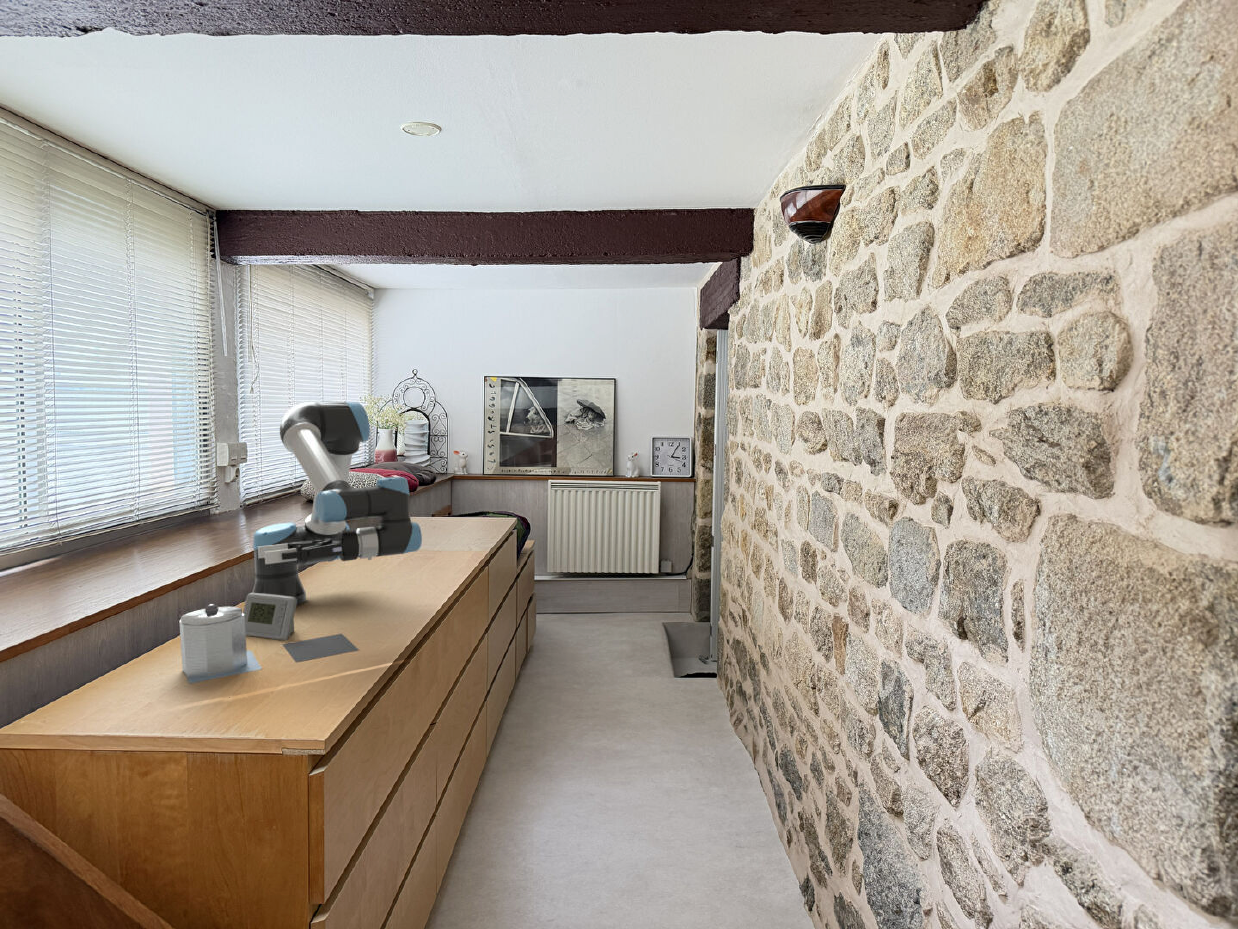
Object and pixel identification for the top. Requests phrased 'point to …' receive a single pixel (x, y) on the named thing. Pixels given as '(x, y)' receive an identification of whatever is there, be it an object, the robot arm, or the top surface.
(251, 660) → the blue board
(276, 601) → the digital clock
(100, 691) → the top surface
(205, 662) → the steel canister
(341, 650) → the black mat
